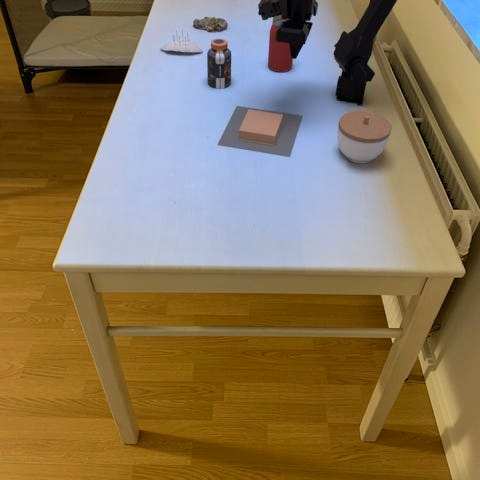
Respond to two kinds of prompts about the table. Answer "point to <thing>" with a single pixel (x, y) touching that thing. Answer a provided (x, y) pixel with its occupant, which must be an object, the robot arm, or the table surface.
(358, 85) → the robot arm
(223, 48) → the pill bottle
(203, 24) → the mineral rock
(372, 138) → the lidded jar
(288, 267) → the table surface
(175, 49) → the pincushion
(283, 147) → the mat
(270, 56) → the beer can
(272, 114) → the tile
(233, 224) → the table surface
